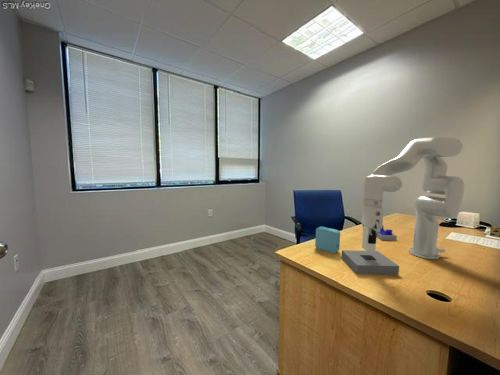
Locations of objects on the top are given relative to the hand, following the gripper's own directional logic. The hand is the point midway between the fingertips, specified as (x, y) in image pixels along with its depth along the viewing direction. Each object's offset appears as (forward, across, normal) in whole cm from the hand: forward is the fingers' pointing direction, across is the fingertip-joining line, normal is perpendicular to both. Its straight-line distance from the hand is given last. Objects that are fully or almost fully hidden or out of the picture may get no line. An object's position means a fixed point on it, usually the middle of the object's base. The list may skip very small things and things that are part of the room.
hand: (369, 241), depth 98 cm
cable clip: (+12, +44, -34) cm, 57 cm away
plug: (+4, 0, 0) cm, 4 cm away
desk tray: (+12, +44, -32) cm, 56 cm away
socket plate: (+12, 0, 0) cm, 12 cm away
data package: (+12, +18, +13) cm, 25 cm away
